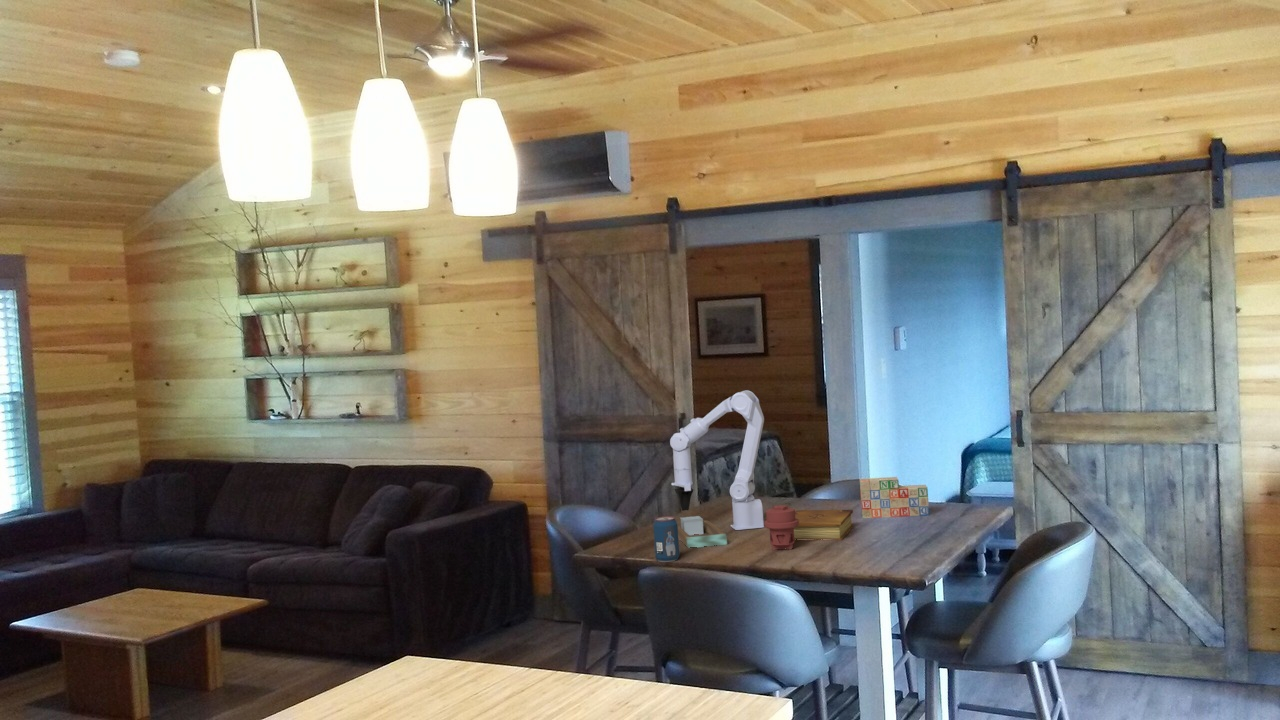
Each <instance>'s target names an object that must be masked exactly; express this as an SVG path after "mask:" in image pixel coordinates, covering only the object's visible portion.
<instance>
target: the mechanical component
mask: <svg viewBox="0 0 1280 720" xmlns="http://www.w3.org/2000/svg"><path fill="white" fill-rule="evenodd" d="M795 511H796V509H795V508H793V507H788V505H785V504H779V505H774V506H773V507H771V508H768V509H766V511H765V513H766V515H765V516H766V520H763V523H764V527H763V528H766V529H769V541H770V545H771V550H772V549H783V550H785V548H786V549H792V548H793V549H794V544H795V542H796V540H795V539H794V527H797V526H798V525H799V520H798V519H796V518H795ZM793 549H792V550H793Z"/></svg>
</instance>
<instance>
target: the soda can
mask: <svg viewBox="0 0 1280 720" xmlns="http://www.w3.org/2000/svg"><path fill="white" fill-rule="evenodd" d="M677 525H678V522H677V520H676V517H675V516H670V515H669V516H658V517H656V518H654V522H653V525H652V528H653V542H654V556H655V558H656V559H657V560H656V561H658V562H660V563H668V562H669V563H670V562H675V560H676V561H678V559H679V557H680V544H679V543H680V542H679V541H680V540H679V539H678V526H679V525H678V526H677Z"/></svg>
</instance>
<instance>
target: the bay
mask: <svg viewBox="0 0 1280 720" xmlns="http://www.w3.org/2000/svg"><path fill="white" fill-rule="evenodd" d="M677 526H678V540H679V541H680V540H681V541H682V542H683V543H684V544H685V545H686V546H687V547H688V548H687V547H686V546H685V545H684V544H683V543H682V542H681V541H680V542H681V543H682V544H683V545H684V546H685V547H686V548H687V549H691V548H690V547H697V548H705V547H704V546H707V547H714V545H715V546H716V545H717V546H726V545H728V539H727V538H728V537H727V535H728V534H726V532H724V531H722V530H721V528H719V527H718V526H716V525H714V524H713V523H712V522H711V521H709V520H708V519H706V520H705V519H703V531H704V532H705V533H707V534H708V535H696V536H692V535H688V534H687V533H686V532H685V531H684V530H683V529H682V528H681V525H678V524H677Z"/></svg>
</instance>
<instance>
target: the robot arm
mask: <svg viewBox="0 0 1280 720" xmlns="http://www.w3.org/2000/svg"><path fill="white" fill-rule="evenodd" d="M731 412H736V413H738V414H740V415H742V417H743V418H744V420H745V422H747V424H746V431H745V436H744V440H743V445H742V450H741V456H740V459H739V460H740V461H739V465H738V469H737V472H736V474H735V476H734V477H735V478H734V480H733V483H732V484H731V485H730V486H729V487H730V488H729V494H730V496H731V505H732V506H731V507H732V518H733V519H732V521H733V524H730V527H731V528H732V529H733V530H735V531H740V530H752V529H760V528H762V529H763V528H765V527H764V511H763V503H762V500H761V499H760V498H755V497H754V495H753V494H754V492H755V489H756V485H755V472H754V471H755V467H756V462H757V456H758V451H759V447H760V442H761V437H762V433H763V432H762V431H763V429H764V428H763V427H764V422H765V416H764V413H763V411H762V408H761V405H760V400H759V398H758V397H757V395H755V393H754V392H752V391H750V390H749V389H747V390H742V391H739V392H736V393H735V394H733V395H732V396H729V397H728V398H726V399H724V400H722V402H720V403H719V404H718V405H716V407H714V408H713V409H712V410H710V412H708V413H707V414H706V415H705V416H704V417H696V418H694V417H693V418H691V419H690V420H689V421H690V423H688V424H687V425H686V426H684V427H681V428H680V429H679V432H675V433H673V435H672V436H671V438H670V439H669V443H670V444H669V445H670V447H671V448H672V453H673V454H672V459H673V460H672V461H673V473H674V474H673V475H674V482H671V484H670V485H671V486H675V487H679V488H675V489H674V492H675V493H676V495H677V498H678V501H679V505H680V509H681V511H683V512H685V511H689V510H690V503H691V499H692V498H691V497H692V495H693V492H694V489H693V487H692V485H693V484H694V482H693V475H692V458H691V457H692V456H691V449H690V448H691V446H692V443H695V442H696V441H698V440H699V439H700V438H701V437H703V436H704V435H705V434H707V433H708V432H709V429H710V428H709V427H710V425H712V424H713V423H715V422H716V421H717V420H718V419H720V418H721V417H723V416H724V415H725V414H727V413H731Z"/></svg>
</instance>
